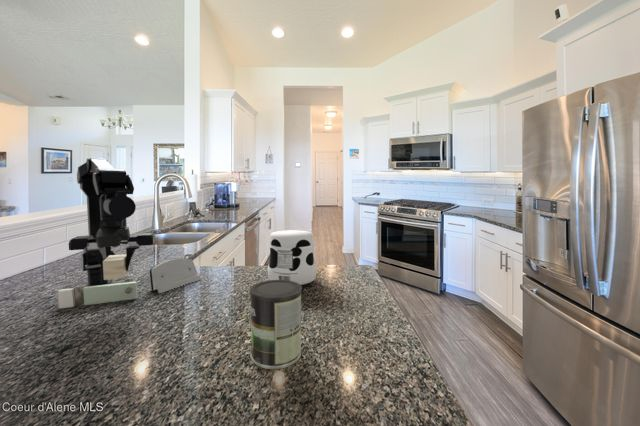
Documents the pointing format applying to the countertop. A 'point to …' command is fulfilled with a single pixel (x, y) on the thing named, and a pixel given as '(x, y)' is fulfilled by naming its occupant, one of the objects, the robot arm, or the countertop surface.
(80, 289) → the gate post
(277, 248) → the milk container
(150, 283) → the grey curved upright block
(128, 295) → the door
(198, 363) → the countertop surface
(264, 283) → the coffee can
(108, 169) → the robot arm
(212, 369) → the countertop surface
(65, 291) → the wall stub
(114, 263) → the block
